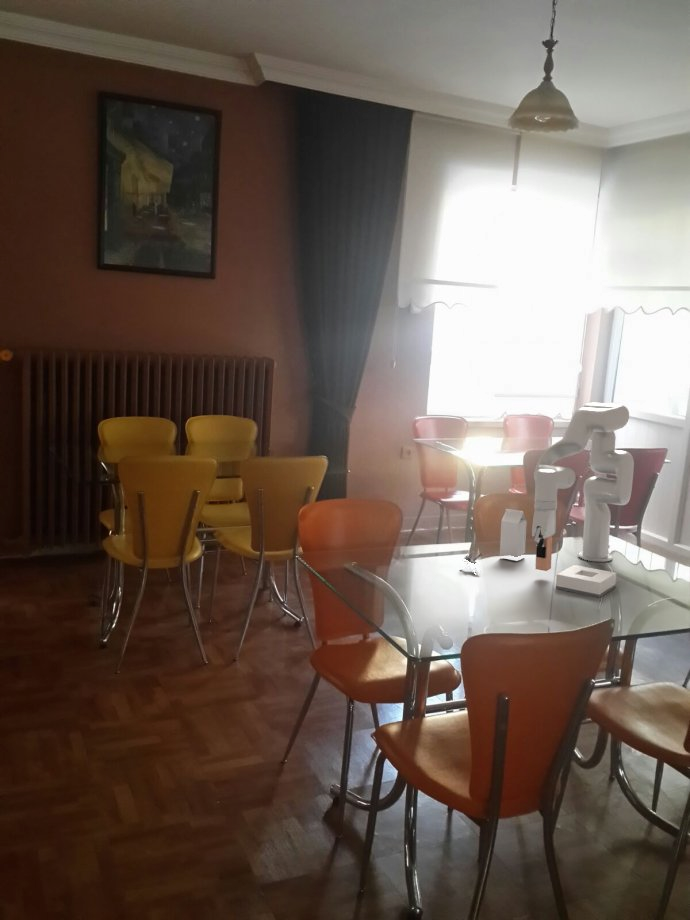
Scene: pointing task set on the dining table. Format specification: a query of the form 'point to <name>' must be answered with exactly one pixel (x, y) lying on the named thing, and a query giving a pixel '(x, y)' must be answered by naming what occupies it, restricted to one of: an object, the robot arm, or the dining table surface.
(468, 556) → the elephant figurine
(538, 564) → the peg
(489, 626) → the dining table surface
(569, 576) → the socket block
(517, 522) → the milk carton
